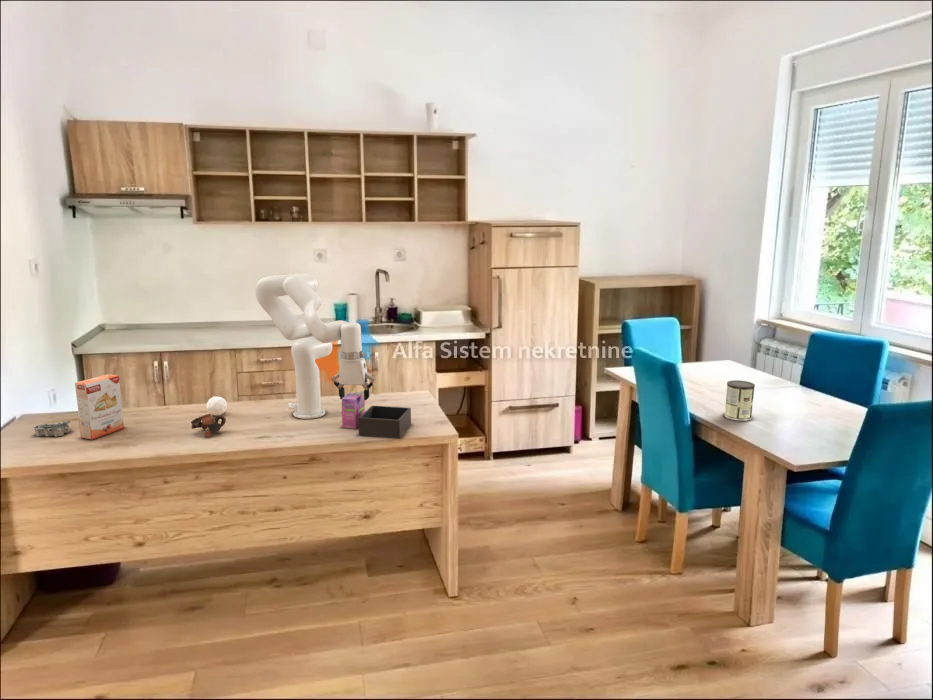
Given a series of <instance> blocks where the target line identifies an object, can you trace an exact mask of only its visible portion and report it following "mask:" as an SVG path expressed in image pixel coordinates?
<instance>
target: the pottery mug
mask: <svg viewBox="0 0 933 700" xmlns="http://www.w3.org/2000/svg"><path fill="white" fill-rule="evenodd" d="M219 420H221V422H220V423H219ZM226 422H227V419H226V418H225V416H224V415H223V414H221V415H219V416H218V415H215V416H213V415H212V414H210V413H206V414H204V415H201V416H199V417H196V418H195V419H193V420H191V421H190V424H191V428H190V429H191V430H194V429H196V428H197V429H200V428H201V429H202V430H204V432H203V434H204V436H205V438H206V439H207V438H209V437H212V436H215V435H218V434H220V430H221V429H222V428H223V427H224V426H225V425H226Z"/></svg>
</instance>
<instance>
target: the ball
mask: <svg viewBox="0 0 933 700" xmlns="http://www.w3.org/2000/svg"><path fill="white" fill-rule="evenodd" d="M205 404H206V405H205V406H206V408H205V409H206V411H207V412H208V414H211V416H219V415H223V414H224V413H225V412H226V410H227V409H228V402H227V401H226V399H225V398H223V397H221V396H212V397H211V398H209V399H208V401H207V402H206V403H205Z"/></svg>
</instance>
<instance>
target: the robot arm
mask: <svg viewBox="0 0 933 700" xmlns="http://www.w3.org/2000/svg"><path fill="white" fill-rule="evenodd" d="M318 289H319V282H318V279H317V278H316V277H315V276H314V275H313V274H312V273H308V272H307V273H285V274H277V275H267V276H264V277H262V278H260V279H259V280H258V281H257V282H256V284H255V289H254V290H255V291H254V292H255V297H256V300H257V302H258V304H259V305H260V307H261V308H262V309H263V310H264V311H265V312H266V313H267V315H268V316H269V317H270V319H271V320H272V322H273V324H274V325H275V326H276V328H277V329H278V331H279V332H280V333H281V334H282V336H283V338H285V340H287V341H294V342H293V343H292V345H291V349H290V351H291V357H292V360H293V365H294V366H293V367H294V377H295V395H296V402H295V403H294V402H288V404H287V407H288V409H289V410H293V414H292V415H293V417H294V418H297V419H303V420H308V419H317V418H322V417H323V416H324V415H325V414H326V409H325V408H323V407H322V393H321V375H320V368H319V366H318V364H317V362H316V360H319V359H322V358H326V357H328V356H330V354H331V353H332V352H333V342H337V341H340V342H341V343H340V345H341V358H340V361H339V371H338V374H335V375H333V376H332V377H331V378H330V380H331V381H332V383H333V385H334V386H335V387H336V388H337V390H338V397H339V400H342V398H343V397H344V396H346V395H345V393H346V392H345V387H344V386H361V387H362V388H363V389H364V390H363V392H364V400H365V401H367V400H369V398H370V389H371V388H372V387H373V385H374V384H375V382H376V377H374V376H372V375H370V374H369V373H368V368H367V363H366V359H365V358H364V357H366V355H367V353H366V352H364V351H363V346H362V345H363V344H362V327H361V324H360V323H358V322H348V321H346V320H341V319H340V320H339V319H337V320H334V321H328V322H323V320H321V319H320V317H319V316H318V315H317V311H318V310H319V309H320V308H321V306H322V303H323V300H322V298H321V296H319V294H318V293H317V292H318ZM285 296H289V298H290V299H291V300H292V301H293V302H294V304H296V306H298V308H299V309H300V310H301V312H303V313H301V314H296V313H295V312H294V311H293V310H292V308H291V307H290V305H288V304H287V303H286V302H285V301H284V300H282V299H280V298H279V297H285ZM338 380H339V381H338ZM368 381H370V382H369V383H368Z"/></svg>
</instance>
